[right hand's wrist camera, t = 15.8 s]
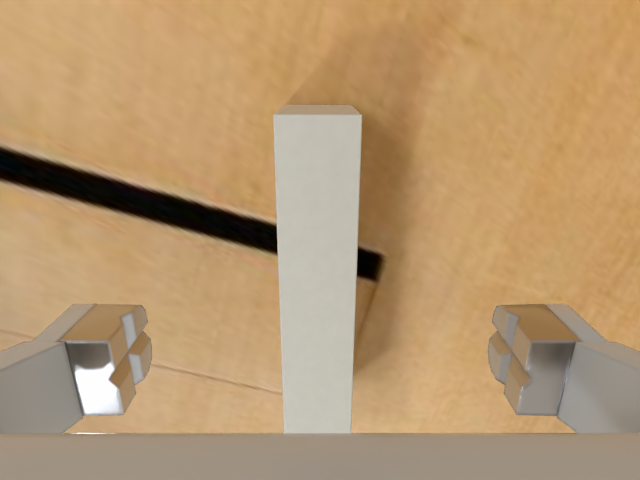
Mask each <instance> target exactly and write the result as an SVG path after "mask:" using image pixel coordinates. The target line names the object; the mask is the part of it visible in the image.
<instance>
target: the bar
mask: <svg viewBox="0 0 640 480" xmlns="http://www.w3.org/2000/svg"><path fill="white" fill-rule="evenodd" d="M273 128H274V157H275V186H276V215H277V243H278V272H279V301H280V330H281V359H282V388H283V417H284V433H351V419H352V391H353V363H354V335H355V307H356V278H357V250H358V222H359V194H360V166H361V138H362V114H360V113H359V112H358V111H357V110H356V109H355V108H354V107H353V106H352V105H284V106H283V107H282V108H281V109H280V110H278V111H277V112H276V113H275V114H274V115H273Z"/></svg>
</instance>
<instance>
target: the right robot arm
mask: <svg viewBox="0 0 640 480" xmlns="http://www.w3.org/2000/svg"><path fill="white" fill-rule="evenodd" d="M147 323H148V320H147V315H146V310H145V309H144V307H143V306H142V305H116V304H76V305H72V306H71V307H69V308H68V309H67V310H66V311H65V312H64V313H63V314H62V315H61V316H60V317H59V318H57V319H56V320H55V321H54V322H53V323H52V324H51V325H50V326H49V327H48V328H46V329H45V330H44V331H43V332H42V333H41V334H40V335H39V336H38V337H37V338H35V339H34V340H33V341H32V342H23V343H21V344H18V345H16V346H13V347H11V348H8V349H6V350H3V351H1V352H0V480H640V352H639V351H637V350H634V349H632V348H629V347H627V346H624V345H622V344H619V343H617V342H608V341H607V340H606V339H605V338H603V337H602V336H601V335H600V334H599V333H598V332H597V331H596V330H595V329H594V328H593V327H591V326H590V325H589V324H588V323H587V322H586V321H585V320H584V319H583V318H582V317H581V316H579V315H578V314H577V313H576V312H575V311H574V310H573V309H572V308H571V307H570V306H568V305H565V304H528V305H500V306H497V307H496V309H495V311H494V314H493V320H492V323H493V324H494V326H495V327H496V329H497V331H496V333H495V334H494V335H493V336H492V337H491V338H490V339H489V346H488V358H489V365H490V368H491V371H492V373H493V375H494V377H495V379H496V380H498V381H499V382H501V383H502V384H504V385H505V389H504V394H505V396H506V398H507V399H508V401H509V403H510V404H511V406H512V408H513V409H514V411H515V413H516V415H538V416H557V418H558V419H560V420H561V421H562V422H564V423H565V424H566V425H568V426H569V427H570V428H572V429H573V430H574V431H576V432H577V433H63V432H65V431H66V430H67V429H69V428H70V427H71V426H73V425H74V424H75V423H77V422H78V421H79V420H81V419H82V418H83V417H82V416H101V415H124V413H125V411H126V410H127V408H128V406H129V404H130V403H131V401H132V399H133V398H134V396H135V394H136V389H135V385H136V384H138V383H139V382H141V381H142V380H144V379H145V377H146V375H147V373H148V371H149V368H150V364H151V360H152V345H151V339H150V338H149V337H148V336H147V335H146V334H145V333H144V331H143V329H144V327H145V326H146V324H147Z"/></svg>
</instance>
